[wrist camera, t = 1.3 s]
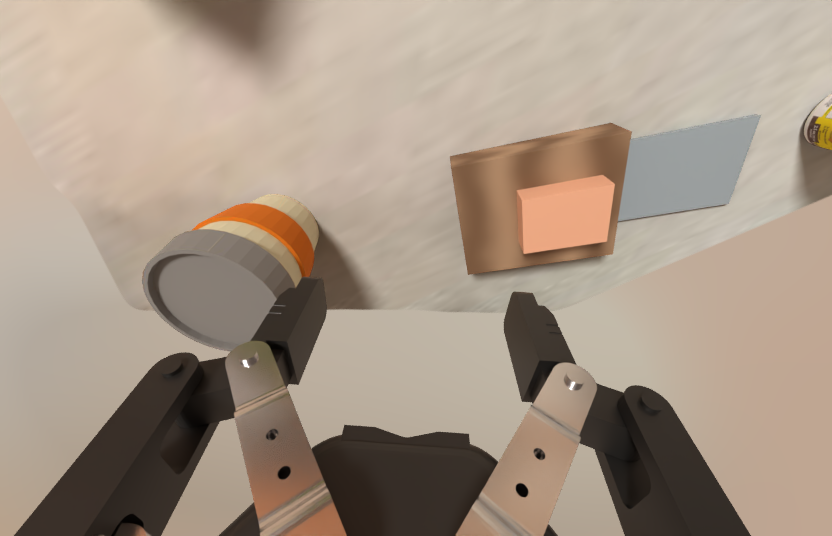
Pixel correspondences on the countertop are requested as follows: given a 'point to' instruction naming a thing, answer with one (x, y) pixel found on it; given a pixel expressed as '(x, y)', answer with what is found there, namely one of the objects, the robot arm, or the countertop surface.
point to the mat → (685, 168)
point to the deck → (526, 168)
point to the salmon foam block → (564, 214)
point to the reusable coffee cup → (232, 270)
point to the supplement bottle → (820, 124)
